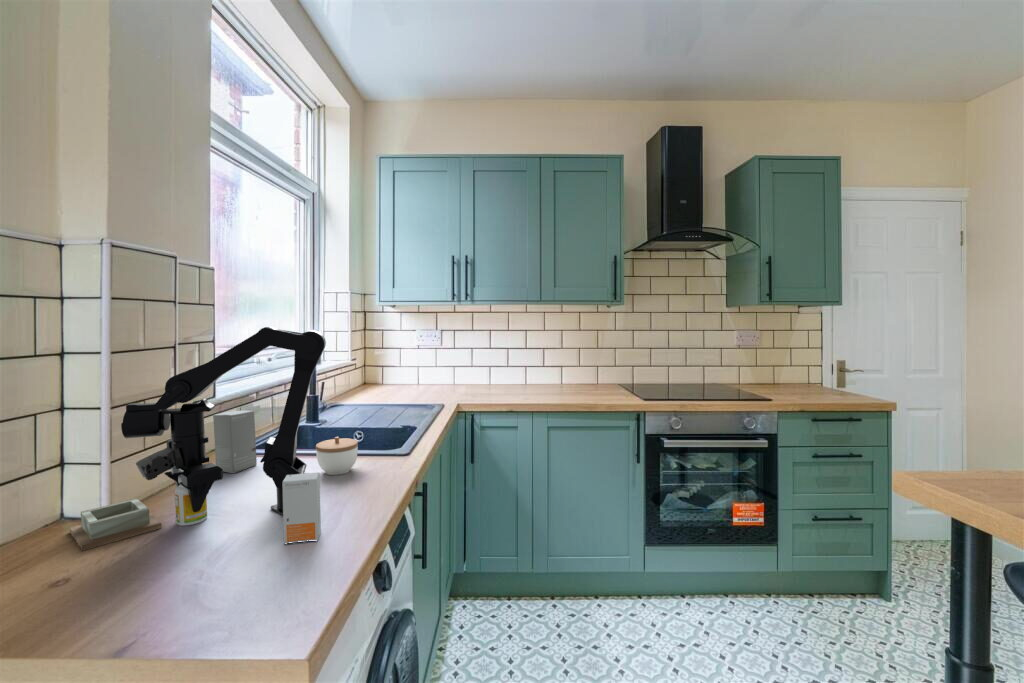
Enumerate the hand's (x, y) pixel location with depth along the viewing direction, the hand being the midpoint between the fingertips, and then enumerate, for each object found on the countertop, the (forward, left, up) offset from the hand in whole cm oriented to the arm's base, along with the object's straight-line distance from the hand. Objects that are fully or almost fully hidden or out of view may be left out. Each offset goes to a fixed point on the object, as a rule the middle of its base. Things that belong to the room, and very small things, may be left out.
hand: (191, 508), depth 99 cm
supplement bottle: (0, 0, -3) cm, 3 cm away
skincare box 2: (-26, -10, -3) cm, 28 cm away
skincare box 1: (+30, -20, -3) cm, 36 cm away
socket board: (+7, +11, -3) cm, 13 cm away
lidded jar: (+5, -36, -3) cm, 36 cm away
